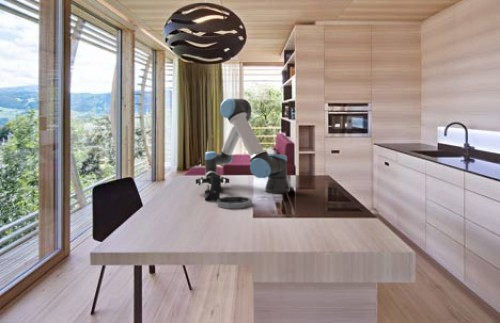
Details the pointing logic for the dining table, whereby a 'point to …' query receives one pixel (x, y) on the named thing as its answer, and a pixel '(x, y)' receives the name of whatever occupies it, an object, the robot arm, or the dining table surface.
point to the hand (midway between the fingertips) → (213, 183)
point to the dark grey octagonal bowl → (234, 202)
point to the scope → (214, 188)
